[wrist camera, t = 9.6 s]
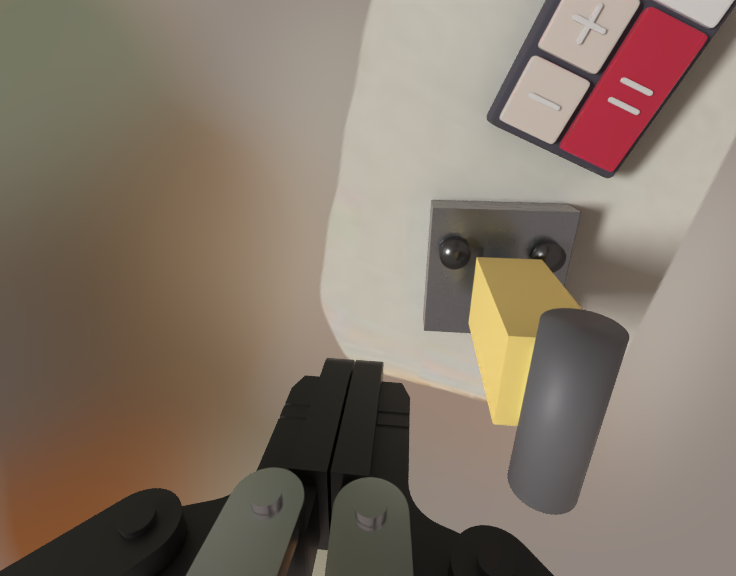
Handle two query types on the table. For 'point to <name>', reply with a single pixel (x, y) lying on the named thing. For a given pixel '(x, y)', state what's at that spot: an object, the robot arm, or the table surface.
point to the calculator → (601, 74)
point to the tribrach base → (488, 249)
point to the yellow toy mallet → (543, 375)
